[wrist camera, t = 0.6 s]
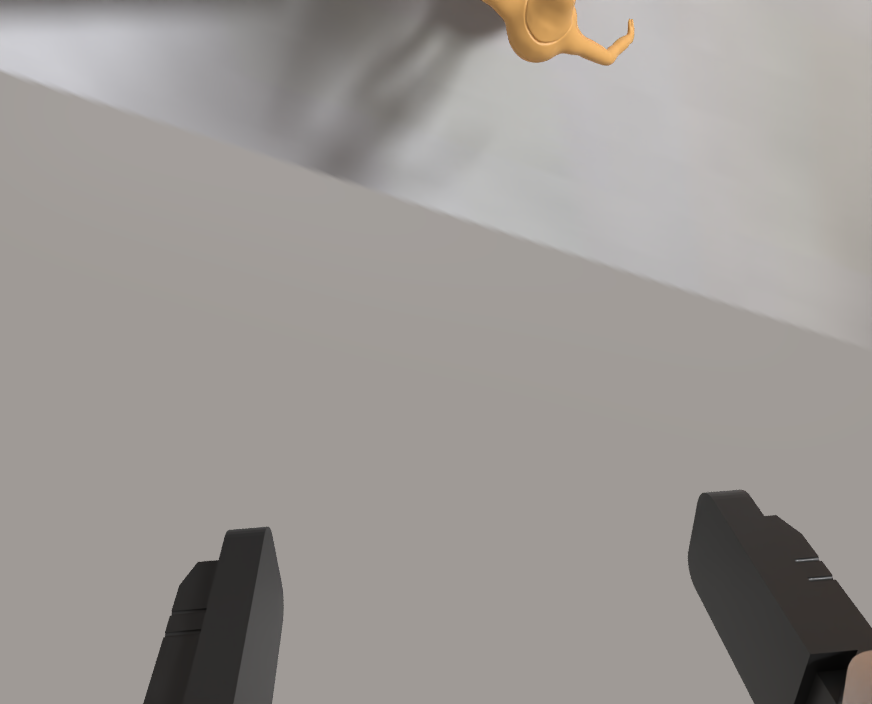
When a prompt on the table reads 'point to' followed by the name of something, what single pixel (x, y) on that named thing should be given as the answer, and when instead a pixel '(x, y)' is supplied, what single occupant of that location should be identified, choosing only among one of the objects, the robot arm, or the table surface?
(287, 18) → the table surface
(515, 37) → the figurine
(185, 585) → the robot arm
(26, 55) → the table surface
